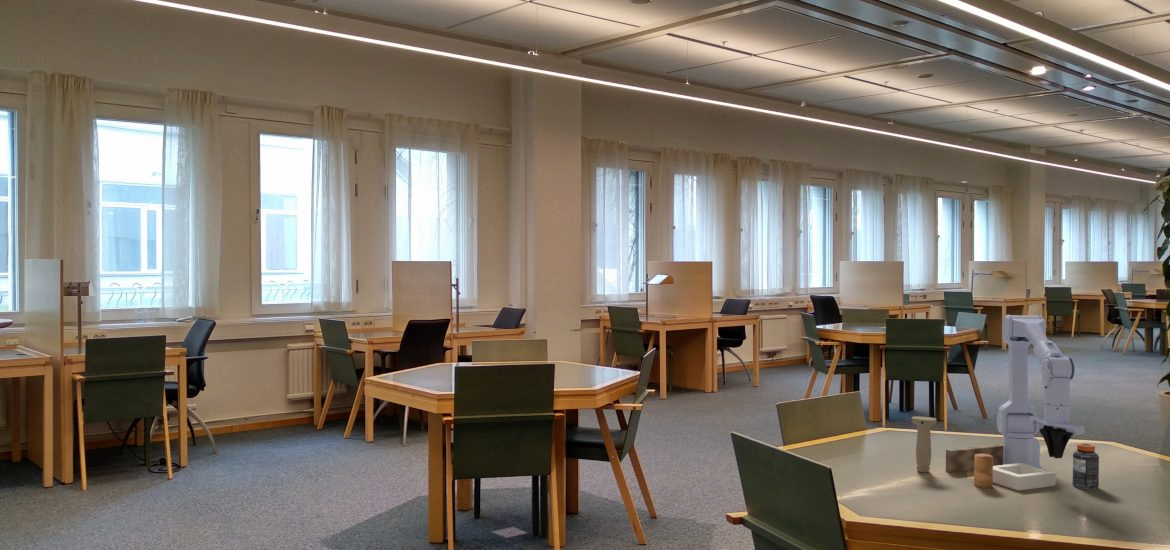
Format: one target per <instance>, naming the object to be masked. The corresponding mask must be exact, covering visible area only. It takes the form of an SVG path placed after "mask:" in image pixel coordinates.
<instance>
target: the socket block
mask: <svg viewBox="0 0 1170 550" xmlns="http://www.w3.org/2000/svg"><path fill="white" fill-rule="evenodd" d="M1056 475H1057V472H1055V471H1051V470H1048V469H1044V468H1038V467H1034V466H1031V465H1027V464H1024V463H1015V464H1006V465H997V466H993V483H994V484H997V485H999V486H1003V487H1006V488H1010V489H1012V490H1016V491H1024V490H1025V491H1026V490H1033V489H1040V488H1048V487H1056V479H1057V478H1056Z"/></svg>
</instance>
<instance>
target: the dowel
mask: <svg viewBox="0 0 1170 550" xmlns="http://www.w3.org/2000/svg"><path fill="white" fill-rule="evenodd" d="M973 472H974V473H973V486H974V487H976V488H982V489H992V488H993V486H994V485H993V456H991V455H988V454H975V460H974V470H973Z"/></svg>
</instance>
